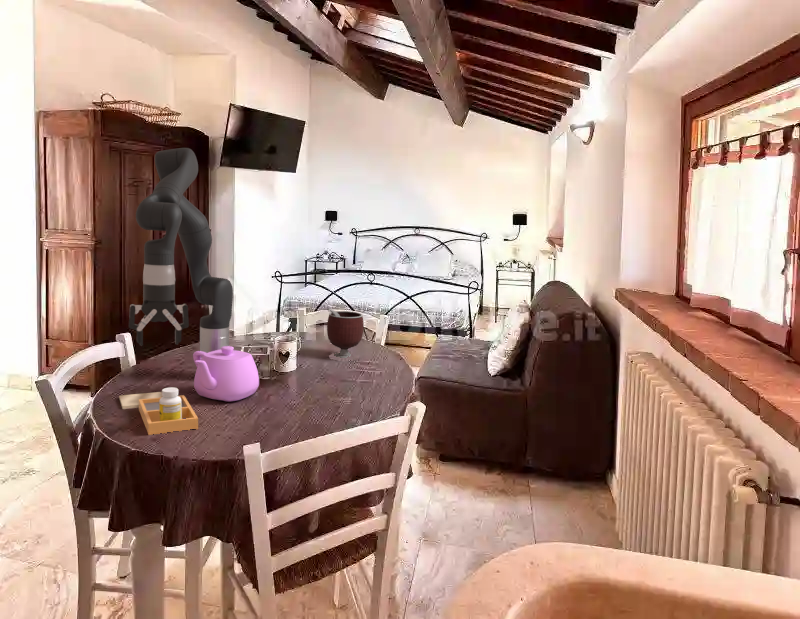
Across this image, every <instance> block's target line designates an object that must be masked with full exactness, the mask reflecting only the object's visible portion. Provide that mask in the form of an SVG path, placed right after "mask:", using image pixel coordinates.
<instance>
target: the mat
mask: <svg viewBox="0 0 800 619" xmlns="http://www.w3.org/2000/svg"><path fill="white" fill-rule="evenodd" d="M160 397H163V396H162V391H156V392H145V393H135V394H123V395H119V396H118V399H119V403H120V405H121V409H122V410H126V409H129V410H130V409H135V408H136V409H137V408H138V409H139V399H149V398H160Z"/></svg>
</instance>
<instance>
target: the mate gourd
mask: <svg viewBox="0 0 800 619" xmlns="http://www.w3.org/2000/svg"><path fill="white" fill-rule="evenodd" d="M327 311H329V313H328V318H327V323H326V324H327V325H326V334H327V338H328V340H329V342H330V343H331V345H332V346H335V347H337V348H339V349H340V351H339V352H340V353H337V352H335V353H336V354H334V356H336V357H340V358H347V357H348V356H349V357H350V356H351V354H350V353H351V352H350V351H349V349H351V348H354V347H358V345H359V343H361V341H362V338H363V336H364V326H365V325H364V317H363V316H364V315H363V313H360V312H357V311H350V310H349V311H348V310H342V311H341V310H337V311H335V310H334V309H331V308H327Z"/></svg>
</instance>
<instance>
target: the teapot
mask: <svg viewBox="0 0 800 619" xmlns="http://www.w3.org/2000/svg"><path fill="white" fill-rule="evenodd" d="M201 356H202V358H201ZM192 358H193V362H194V365H195V366H196V371H195V374H194V375H195V376H194V378H193V379H194V380H193V386H194V389H195V391H196V393H197V394H198V395H199V396H201V397H204V398H207V399H212V400H218V401H223V402H227V403H230V402H231V403H233V402H235V401H241V400H242V399H245V398H248V397H250V396H252V395H254V394H255V393H256V392H257V391H258V388H259V386H260V378H259V371H258V369H257V368H258V367H257V365H256V363H255V360H254V357H253V355H252V354H251V353H249V352H246V351H242V350H236V349H234V347H233V346H231V345H229V346H223V347H221V349H220V350H215V351H212V352H209V353H206V352H202V351H200V350H197V351H194V352H193V354H192Z"/></svg>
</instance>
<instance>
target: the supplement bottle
mask: <svg viewBox="0 0 800 619" xmlns="http://www.w3.org/2000/svg"><path fill="white" fill-rule="evenodd" d="M161 392H162V396H163V397H162V398H161V399H160V400H159V413H160V421H167V420H176V419H182V409H181V398H180V397H179V396H180V395H179V389H178V388H177V387H171V386H170V387H165V388H163V389H162V390H161Z"/></svg>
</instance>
